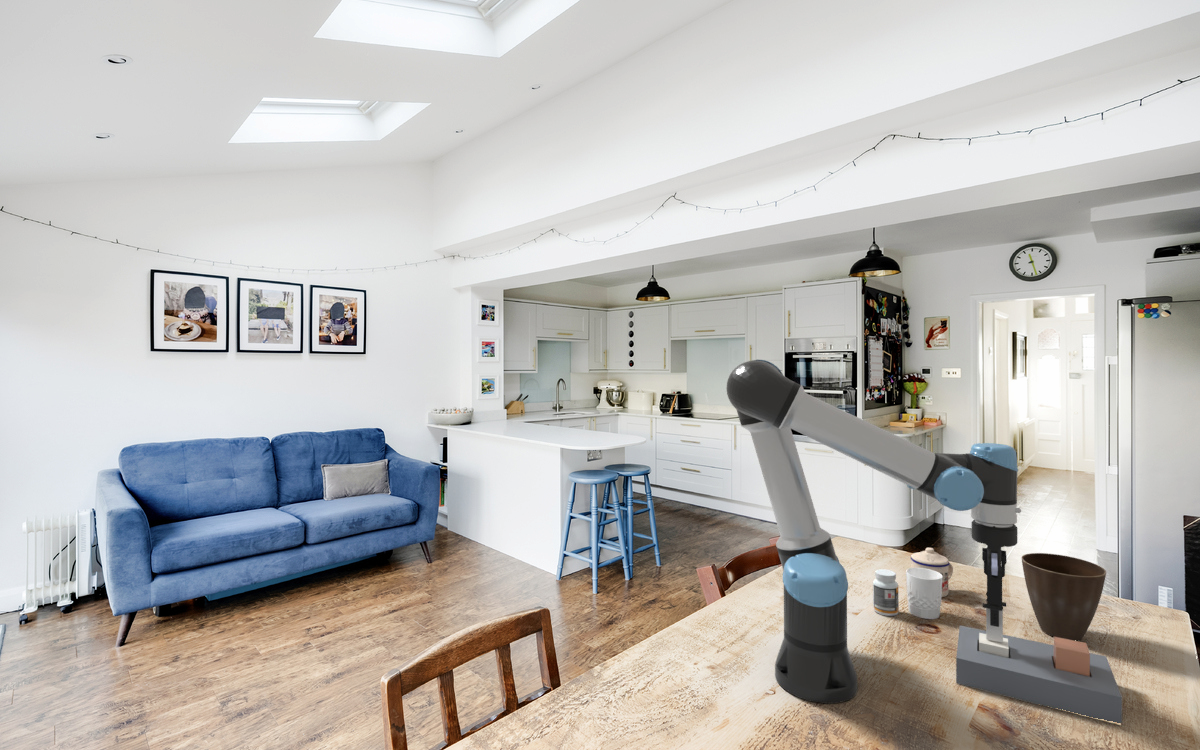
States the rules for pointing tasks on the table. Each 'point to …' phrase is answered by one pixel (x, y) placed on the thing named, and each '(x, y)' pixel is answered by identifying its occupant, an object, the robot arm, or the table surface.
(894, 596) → the pill bottle
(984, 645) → the ivory plug
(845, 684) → the robot arm
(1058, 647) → the terracotta plug
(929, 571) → the white cup
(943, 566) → the teacup with lid
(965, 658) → the socket block
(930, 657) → the table surface
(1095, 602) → the plant pot
